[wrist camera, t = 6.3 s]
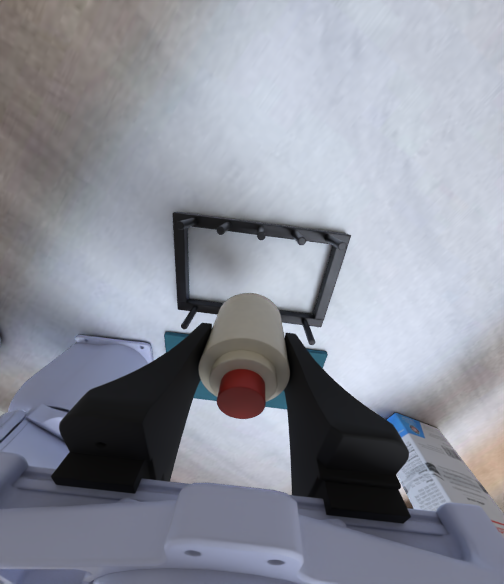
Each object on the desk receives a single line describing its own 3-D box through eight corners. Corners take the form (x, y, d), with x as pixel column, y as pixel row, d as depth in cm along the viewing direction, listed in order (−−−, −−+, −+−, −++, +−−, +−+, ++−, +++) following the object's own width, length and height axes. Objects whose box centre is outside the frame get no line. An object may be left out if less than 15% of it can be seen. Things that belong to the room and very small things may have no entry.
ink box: (372, 429, 30) (459, 609, 17) (394, 411, 28) (514, 599, 15) (415, 444, 31) (529, 624, 18) (440, 428, 29) (588, 617, 16)
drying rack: (181, 305, 22) (162, 328, 18) (176, 211, 18) (151, 214, 14) (318, 322, 22) (331, 349, 18) (347, 233, 18) (371, 242, 14)
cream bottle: (216, 342, 16) (188, 429, 10) (218, 288, 14) (185, 357, 8) (275, 349, 16) (284, 440, 10) (286, 297, 14) (306, 371, 8)
